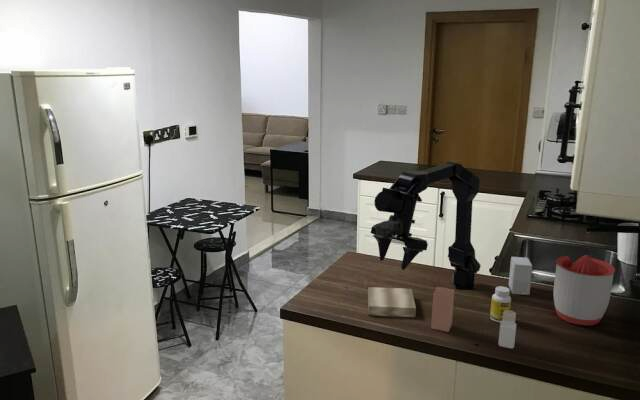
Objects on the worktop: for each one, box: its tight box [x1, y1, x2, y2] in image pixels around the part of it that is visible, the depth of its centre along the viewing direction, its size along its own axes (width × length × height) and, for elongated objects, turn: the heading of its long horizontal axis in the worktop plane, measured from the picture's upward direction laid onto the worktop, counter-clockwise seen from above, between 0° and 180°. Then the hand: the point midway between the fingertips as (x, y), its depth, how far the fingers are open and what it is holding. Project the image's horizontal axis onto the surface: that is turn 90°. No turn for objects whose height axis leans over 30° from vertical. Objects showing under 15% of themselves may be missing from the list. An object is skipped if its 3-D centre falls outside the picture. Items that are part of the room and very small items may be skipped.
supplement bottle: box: [489, 285, 512, 324], centre depth 153 cm, size 5×5×10 cm
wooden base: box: [367, 286, 417, 318], centre depth 162 cm, size 14×14×3 cm
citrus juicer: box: [552, 254, 616, 326], centre depth 154 cm, size 16×17×20 cm
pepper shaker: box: [497, 309, 517, 350], centre depth 139 cm, size 4×4×10 cm
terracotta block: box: [430, 286, 455, 333], centre depth 149 cm, size 5×5×11 cm
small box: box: [508, 256, 533, 296], centre depth 174 cm, size 8×6×10 cm
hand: (392, 264), depth 155 cm, fingers open, 9 cm apart
